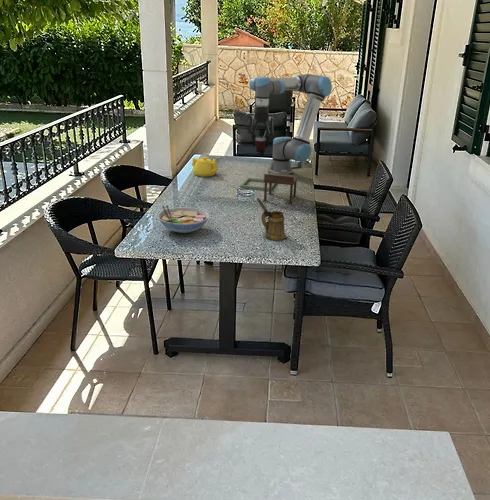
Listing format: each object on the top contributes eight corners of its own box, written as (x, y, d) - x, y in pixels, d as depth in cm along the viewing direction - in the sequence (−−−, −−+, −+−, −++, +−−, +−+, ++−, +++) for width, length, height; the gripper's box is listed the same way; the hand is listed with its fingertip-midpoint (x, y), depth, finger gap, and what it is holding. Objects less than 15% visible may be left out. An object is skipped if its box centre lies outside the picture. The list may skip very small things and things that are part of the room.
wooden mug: (254, 232, 230) (256, 194, 223) (284, 233, 231) (286, 195, 224) (255, 240, 222) (257, 200, 215) (286, 240, 223) (288, 201, 216)
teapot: (228, 173, 324) (228, 156, 319) (210, 179, 309) (210, 161, 305) (203, 168, 333) (203, 151, 329) (185, 173, 319) (184, 156, 315)
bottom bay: (247, 180, 312) (247, 177, 312) (276, 182, 309) (276, 180, 309) (240, 187, 296) (240, 185, 295) (270, 190, 293) (270, 188, 292)
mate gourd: (252, 150, 294) (252, 124, 288) (261, 149, 300) (261, 123, 294) (261, 153, 290) (262, 126, 284) (270, 151, 295) (271, 125, 289)
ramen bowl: (213, 239, 220) (213, 221, 217) (160, 242, 214) (159, 224, 211) (204, 219, 242) (204, 203, 239) (155, 222, 236) (154, 205, 233)
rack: (268, 193, 289) (270, 167, 283) (296, 196, 286) (298, 170, 280) (263, 201, 274) (264, 174, 268) (292, 204, 271) (293, 177, 266)
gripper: (243, 105, 283) (242, 146, 292) (278, 107, 279) (276, 149, 289) (246, 103, 290) (245, 143, 299) (280, 106, 286) (278, 146, 295)
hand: (260, 146), depth 294 cm, fingers closed on mate gourd, 7 cm apart
